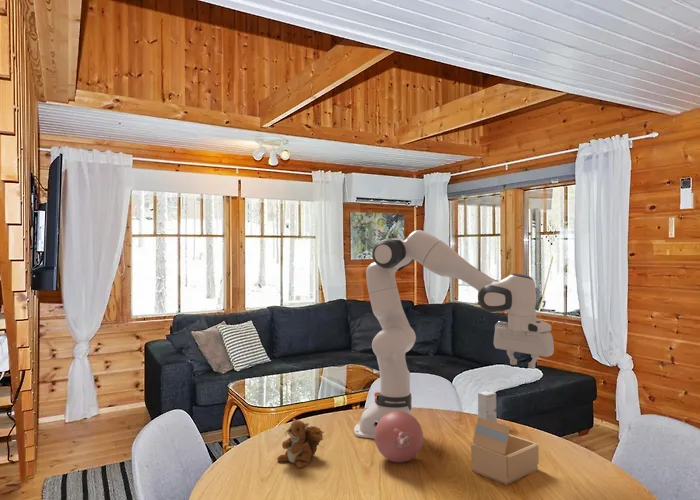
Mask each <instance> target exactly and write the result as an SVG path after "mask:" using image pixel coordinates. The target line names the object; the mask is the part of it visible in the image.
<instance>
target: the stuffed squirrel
mask: <svg viewBox="0 0 700 500" xmlns="http://www.w3.org/2000/svg"><path fill="white" fill-rule="evenodd" d="M309 425H310V424H309V423H308V422H307V423H305V422H304V421H301V420H299V419H296V418H293V419H292V422H291V424H290V426H289V427H288V429H287V430H286V431H285V432H284V435H285V437H286V436H287V435H288V436H289V438H286V440H284V441H282V444H281V446H282V449H283V450H286V451H285V453H284V454H280V455H279V456H277V458H276V459H277V461H278V462H279V461H285V462H290V463H292V464H295V466H296V467H297V469H302V468H304V467H306V466H307V465H309V463H310V461H311V458H312V457H314V455H316V452H317V450H318V446H319V444H320V442H321V441H323V440H324V439H323V438H324V435H323V434H324V433H325V431H323V430H321V428H320V427H317V426H313V425H311V426H309ZM305 465H306V466H305ZM303 466H304V467H303ZM301 467H302V468H301Z"/></svg>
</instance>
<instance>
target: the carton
mask: <svg viewBox="0 0 700 500" xmlns="http://www.w3.org/2000/svg"><path fill="white" fill-rule="evenodd" d="M470 448H471V451H470V452H471V454H470V455H471V468H472V470H471V471H472V472H473V473H474V474H475V473H476V474H478V475H481V476H483V477H485V478H488V479H489V480H492V481H495V482H497V483H499V484H502V485H504V486H508V485H510V484H512V483H515V482H517V481H519V480H520V478H521V479H523V478H524V476H525V477H526V475H527V476H529V475H530V473H531V474H533V473H534V471H535V472H536V471H538V470H539V469H538V468H539V463H540V462H539V459H540V458H539V444H538V442H534V441H532V440H529V439H526V438H525V439H524V438H522V437H519V436H516V435H513V434H510V433H509V437H508V442H507V447H506V453H505V454H502V453H499V452H496V451H493V450H490V449H488V448H485V447H482V446H479V445H477V444H474V443H473V442H472V443H471V447H470ZM532 472H533V473H532ZM528 474H529V475H528ZM522 477H523V478H522ZM518 479H519V480H518Z"/></svg>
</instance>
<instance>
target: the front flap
mask: <svg viewBox="0 0 700 500" xmlns="http://www.w3.org/2000/svg"><path fill="white" fill-rule="evenodd" d="M510 430H511V426H508V425H505V424H502V423H500V422H497V423H496V422H493V421H490V420H487V419H483V418H480V417H478V416H477V421H476V425H475V430H474V436H473V441H472V444H473V443H474V444H477V445H479V446H482V447H485V448H488V449H490V450H493V451H496V452H499V453H502V454H505V453H506V447H507V442H508V437H509V434H510Z"/></svg>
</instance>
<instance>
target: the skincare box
mask: <svg viewBox="0 0 700 500" xmlns="http://www.w3.org/2000/svg"><path fill="white" fill-rule="evenodd" d="M477 414H478V416H477V418H478V417H480V418H483V419H487V420H490V421H493V422H496V423H498V421H497V418H498V417H497V393H496V392H494V391H490V390H486V391H479V392H477Z"/></svg>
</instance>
